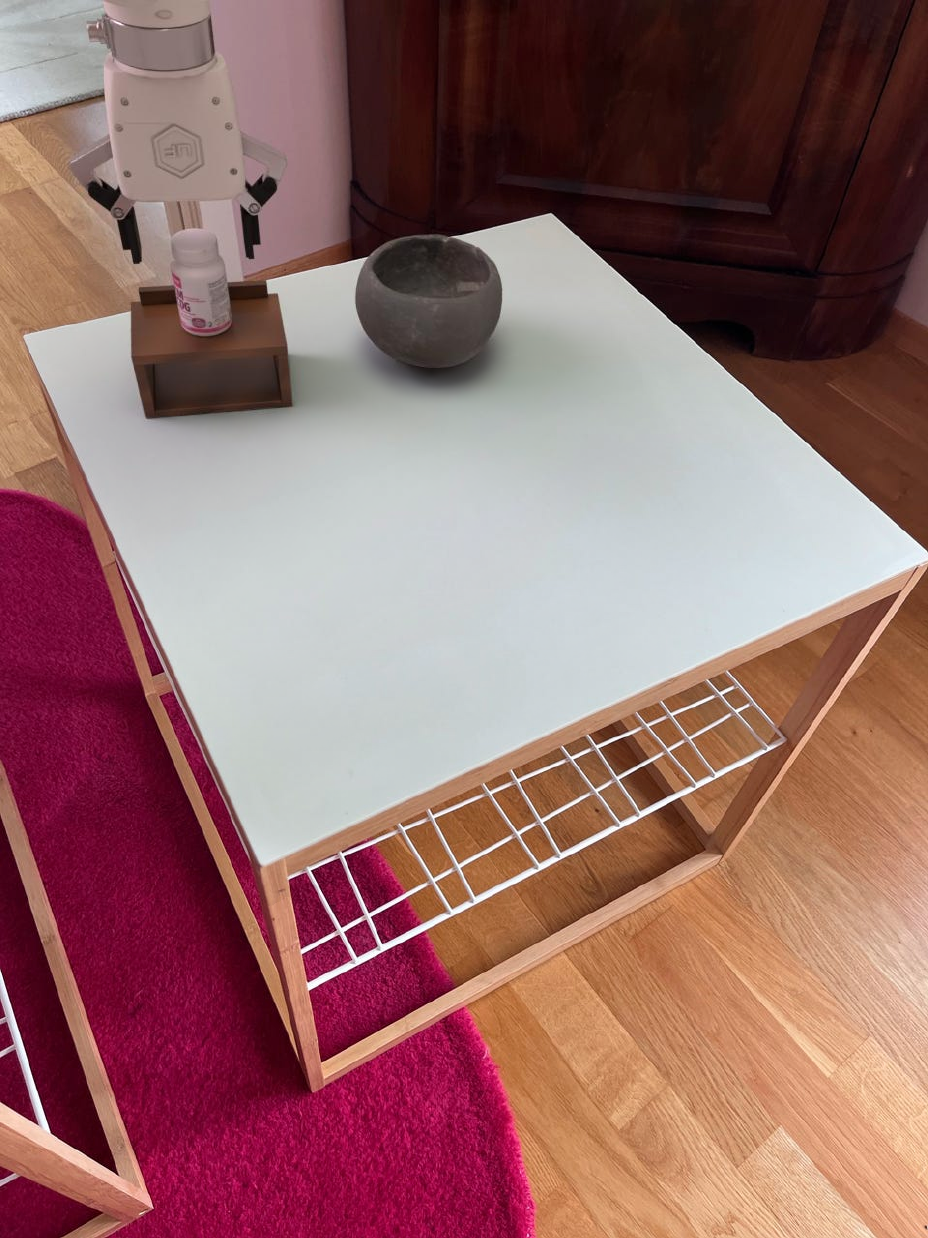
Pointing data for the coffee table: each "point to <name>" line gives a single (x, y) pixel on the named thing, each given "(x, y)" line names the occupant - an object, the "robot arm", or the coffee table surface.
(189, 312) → the pill bottle
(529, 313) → the coffee table surface
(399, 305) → the bowl
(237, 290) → the shelf
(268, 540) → the coffee table surface
